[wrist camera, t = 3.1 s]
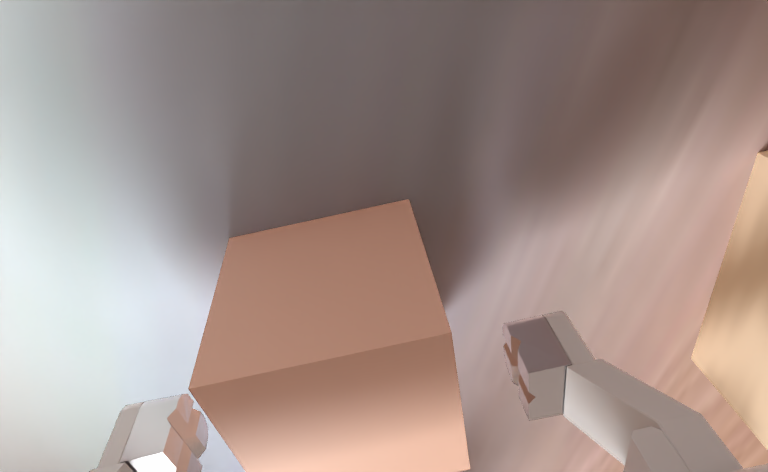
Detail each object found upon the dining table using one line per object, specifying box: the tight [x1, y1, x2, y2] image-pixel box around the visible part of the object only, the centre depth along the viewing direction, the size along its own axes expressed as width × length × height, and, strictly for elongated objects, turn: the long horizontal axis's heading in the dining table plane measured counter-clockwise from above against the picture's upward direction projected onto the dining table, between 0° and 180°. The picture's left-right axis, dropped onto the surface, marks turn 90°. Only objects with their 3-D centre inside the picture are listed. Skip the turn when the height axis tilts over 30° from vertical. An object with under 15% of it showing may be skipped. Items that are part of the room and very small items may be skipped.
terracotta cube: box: [189, 199, 470, 472], centre depth 12 cm, size 5×5×5 cm
